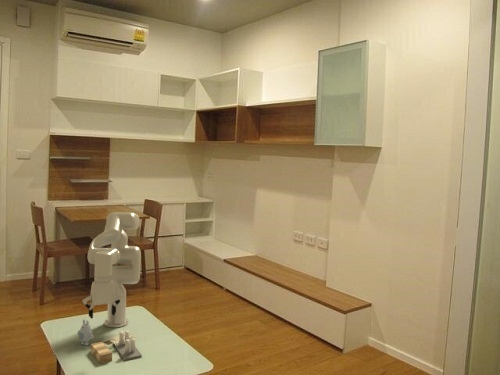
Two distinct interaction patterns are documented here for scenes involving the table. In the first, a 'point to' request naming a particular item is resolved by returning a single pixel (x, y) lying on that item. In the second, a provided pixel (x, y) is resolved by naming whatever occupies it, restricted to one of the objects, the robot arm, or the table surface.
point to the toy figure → (85, 333)
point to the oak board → (101, 352)
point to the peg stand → (127, 347)
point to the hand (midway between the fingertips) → (102, 316)
